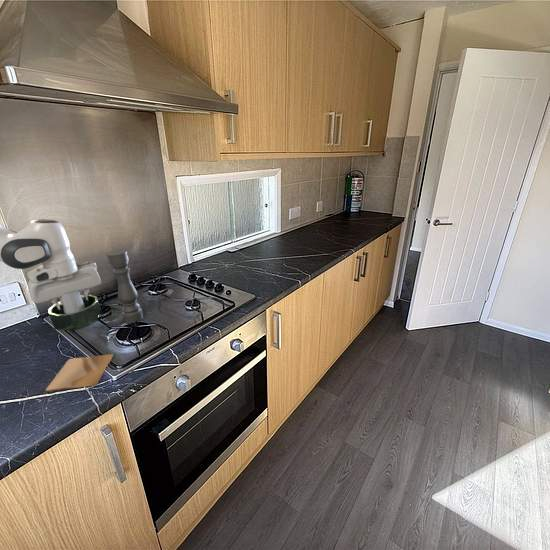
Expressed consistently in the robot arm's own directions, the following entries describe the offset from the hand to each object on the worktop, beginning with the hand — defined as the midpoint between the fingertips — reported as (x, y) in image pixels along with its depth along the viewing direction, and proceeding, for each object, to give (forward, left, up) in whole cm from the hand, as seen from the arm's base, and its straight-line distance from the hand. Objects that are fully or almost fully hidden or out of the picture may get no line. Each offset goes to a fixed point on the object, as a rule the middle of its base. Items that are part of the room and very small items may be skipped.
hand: (73, 304), depth 102 cm
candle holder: (+20, -4, -6) cm, 22 cm away
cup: (0, 0, -6) cm, 6 cm away
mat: (+14, -30, -6) cm, 34 cm away
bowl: (0, 0, -6) cm, 6 cm away
